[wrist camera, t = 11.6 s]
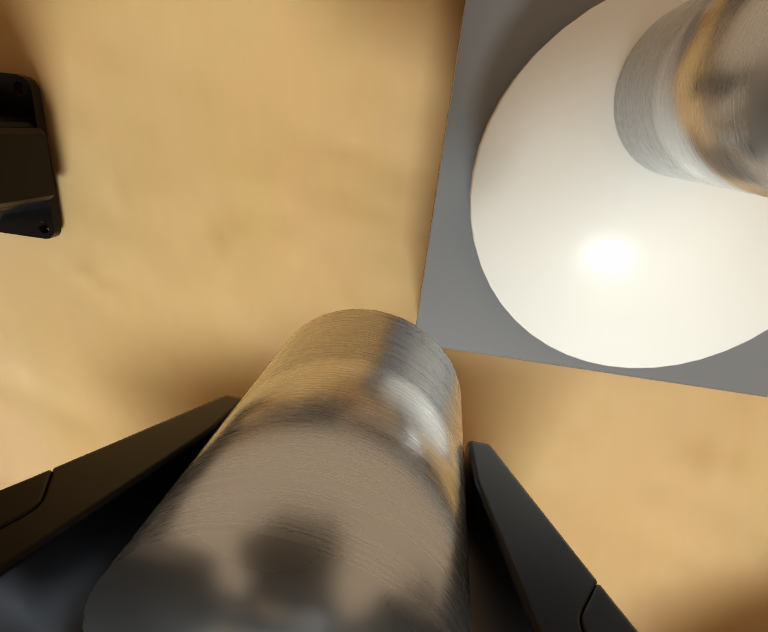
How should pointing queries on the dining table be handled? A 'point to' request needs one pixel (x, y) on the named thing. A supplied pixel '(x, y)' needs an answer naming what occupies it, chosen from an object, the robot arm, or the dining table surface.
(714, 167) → the cylinder
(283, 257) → the dining table surface
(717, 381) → the base
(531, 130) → the pan
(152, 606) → the cylinder
